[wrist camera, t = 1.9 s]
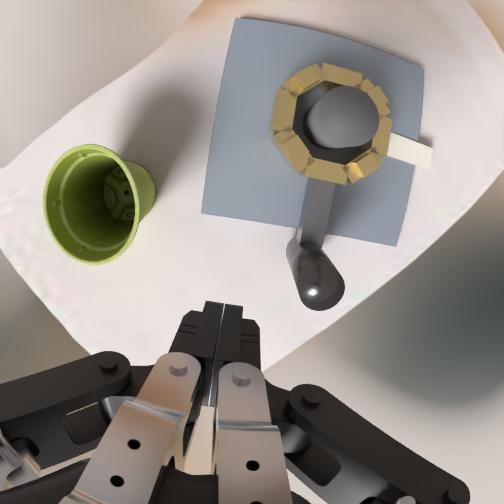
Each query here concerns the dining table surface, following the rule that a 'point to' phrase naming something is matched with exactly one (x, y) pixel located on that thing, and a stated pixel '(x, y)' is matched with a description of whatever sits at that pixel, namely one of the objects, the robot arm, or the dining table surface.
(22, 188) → the dining table surface
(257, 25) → the hub board
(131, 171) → the plant pot
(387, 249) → the dining table surface
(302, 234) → the ring with upright handle
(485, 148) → the dining table surface
